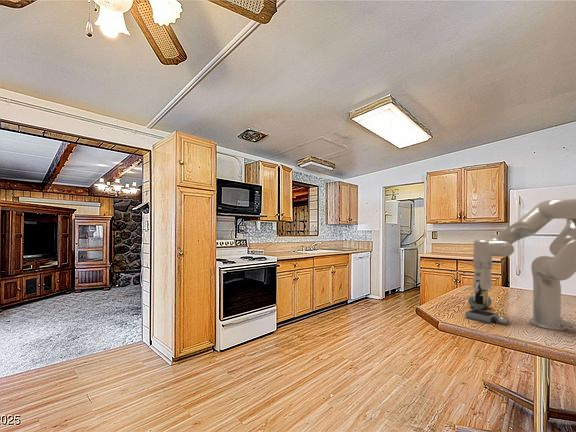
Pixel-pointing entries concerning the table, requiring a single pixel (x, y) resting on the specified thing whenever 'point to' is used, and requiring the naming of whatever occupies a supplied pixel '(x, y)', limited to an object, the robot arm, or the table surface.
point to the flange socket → (486, 316)
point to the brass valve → (484, 298)
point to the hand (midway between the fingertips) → (481, 302)
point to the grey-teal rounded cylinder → (472, 303)
